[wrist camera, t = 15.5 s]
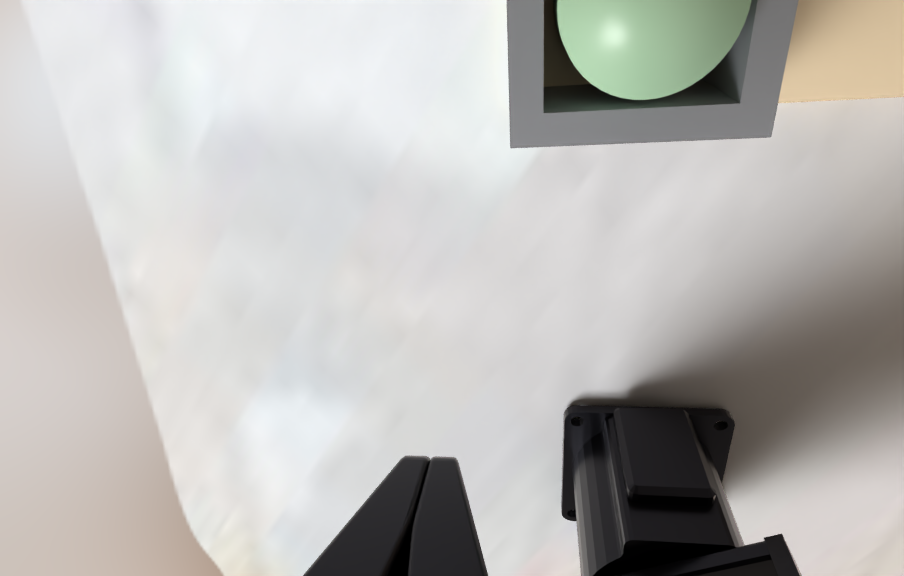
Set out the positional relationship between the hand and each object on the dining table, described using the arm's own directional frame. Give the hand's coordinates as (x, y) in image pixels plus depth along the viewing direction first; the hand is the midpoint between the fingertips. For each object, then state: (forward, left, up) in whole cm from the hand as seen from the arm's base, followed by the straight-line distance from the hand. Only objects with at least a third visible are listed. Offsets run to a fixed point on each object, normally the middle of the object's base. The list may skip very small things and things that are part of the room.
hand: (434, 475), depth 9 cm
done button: (+6, -4, -11) cm, 13 cm away
